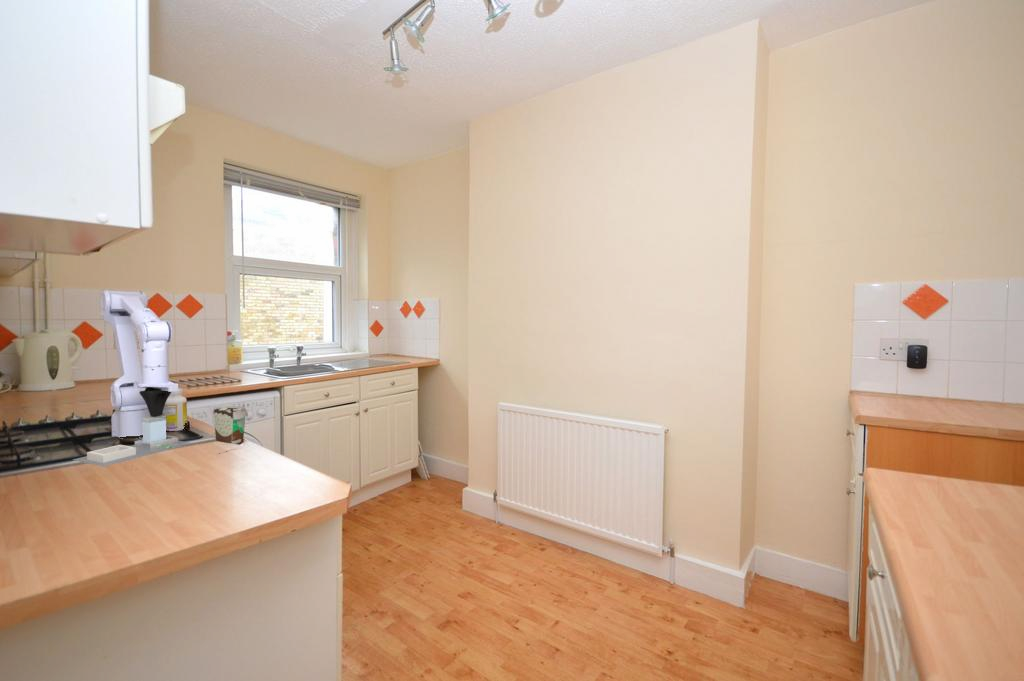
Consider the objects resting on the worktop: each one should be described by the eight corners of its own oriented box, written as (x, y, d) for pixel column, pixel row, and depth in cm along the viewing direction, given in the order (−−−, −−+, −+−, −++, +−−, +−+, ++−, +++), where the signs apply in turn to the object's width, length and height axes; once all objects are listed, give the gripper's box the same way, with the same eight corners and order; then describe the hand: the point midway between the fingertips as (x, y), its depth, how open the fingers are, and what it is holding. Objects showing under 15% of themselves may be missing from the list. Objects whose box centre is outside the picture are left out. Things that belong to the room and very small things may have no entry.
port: (134, 447, 120) (134, 441, 120) (162, 441, 127) (162, 434, 127) (155, 451, 118) (155, 444, 118) (183, 444, 125) (183, 438, 124)
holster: (87, 459, 111) (86, 452, 110) (120, 451, 117) (120, 444, 117) (103, 462, 109) (103, 455, 108) (136, 454, 115) (135, 447, 115)
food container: (256, 443, 131) (256, 409, 131) (234, 448, 126) (234, 412, 125) (234, 436, 138) (234, 403, 137) (212, 440, 132) (212, 406, 132)
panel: (72, 463, 110) (72, 459, 110) (162, 441, 130) (162, 438, 130) (104, 470, 106) (104, 466, 106) (192, 446, 126) (192, 443, 126)
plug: (142, 447, 121) (142, 418, 120) (158, 443, 125) (158, 415, 124) (150, 448, 120) (149, 419, 120) (166, 444, 124) (165, 416, 123)
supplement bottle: (181, 426, 147) (180, 387, 146) (191, 429, 144) (190, 389, 143) (156, 430, 141) (156, 389, 141) (167, 433, 138) (166, 392, 137)
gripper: (120, 365, 120) (121, 416, 121) (158, 369, 115) (159, 421, 116) (149, 363, 127) (150, 410, 128) (185, 366, 122) (186, 416, 123)
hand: (156, 415), depth 122 cm, fingers closed
